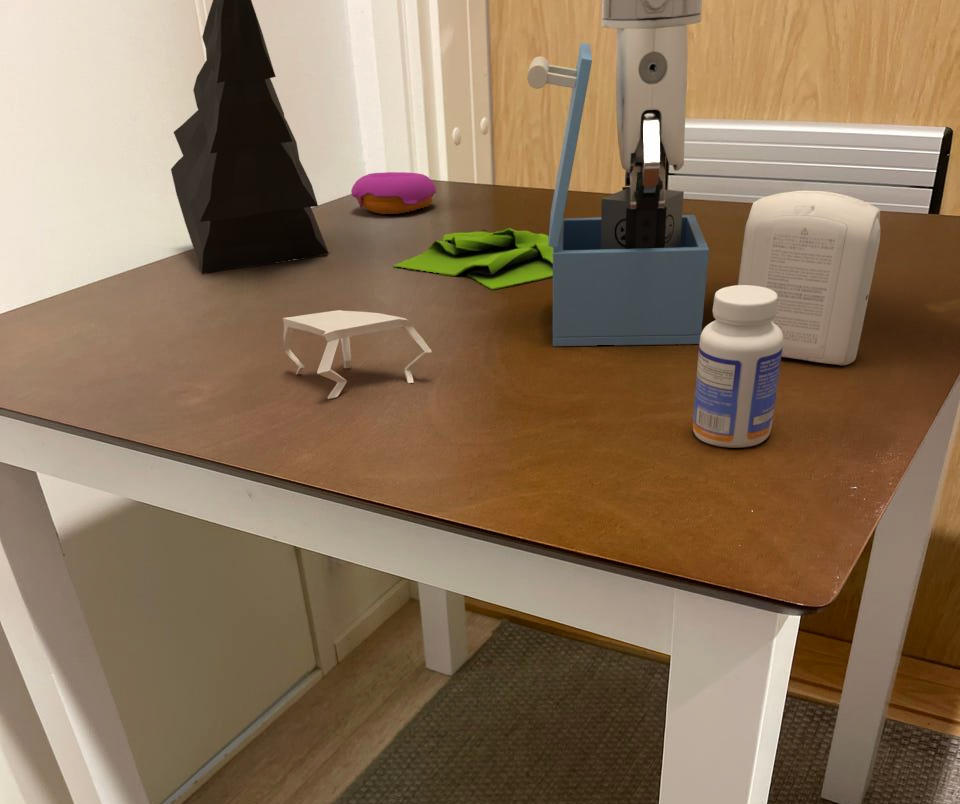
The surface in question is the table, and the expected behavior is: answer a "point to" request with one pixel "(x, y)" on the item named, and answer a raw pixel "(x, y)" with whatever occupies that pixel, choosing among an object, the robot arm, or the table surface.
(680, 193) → the dice cube
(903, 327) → the table surface
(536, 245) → the cloth
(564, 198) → the case lid
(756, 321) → the pill bottle
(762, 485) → the table surface
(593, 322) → the case
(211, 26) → the decorative tree
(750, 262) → the photo printer
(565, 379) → the table surface
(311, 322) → the origami figure
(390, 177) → the donut
